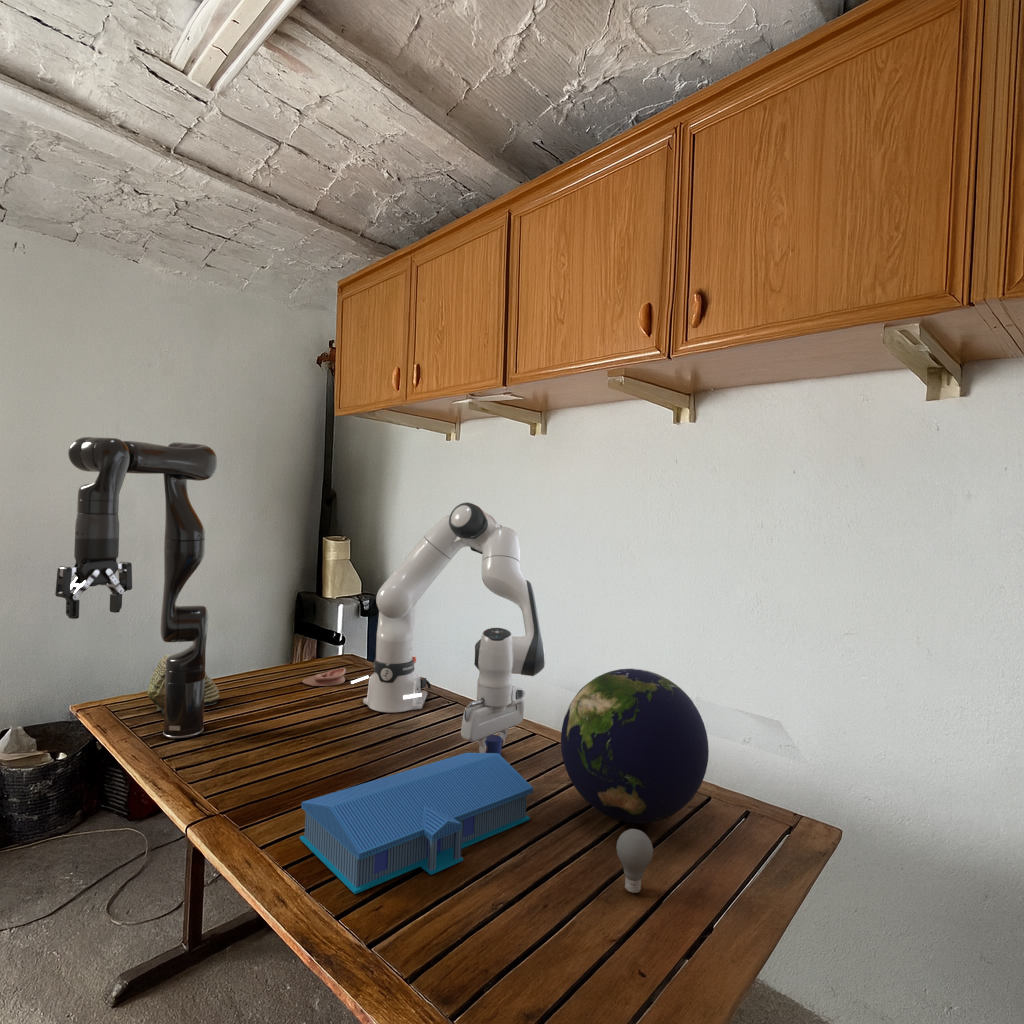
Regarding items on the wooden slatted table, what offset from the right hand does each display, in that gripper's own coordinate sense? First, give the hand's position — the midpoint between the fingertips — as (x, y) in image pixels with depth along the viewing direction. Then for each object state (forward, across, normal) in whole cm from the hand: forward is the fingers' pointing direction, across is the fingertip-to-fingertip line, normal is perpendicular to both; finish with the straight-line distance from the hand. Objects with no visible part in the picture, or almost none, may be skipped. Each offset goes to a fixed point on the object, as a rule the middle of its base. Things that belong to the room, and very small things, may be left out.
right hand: (492, 749), depth 159 cm
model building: (+2, -36, -15) cm, 39 cm away
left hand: (-36, -75, +44) cm, 94 cm away
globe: (+2, -2, -40) cm, 40 cm away
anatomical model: (+2, +5, +81) cm, 81 cm away
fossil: (+2, -38, +87) cm, 95 cm away
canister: (+2, 0, 0) cm, 2 cm away
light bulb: (+2, -25, -53) cm, 59 cm away
